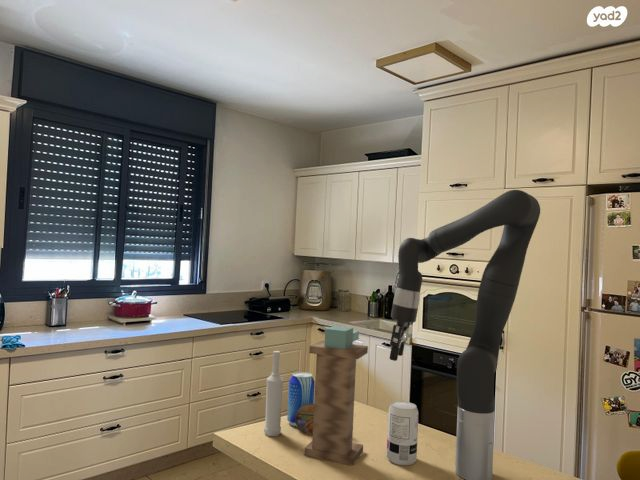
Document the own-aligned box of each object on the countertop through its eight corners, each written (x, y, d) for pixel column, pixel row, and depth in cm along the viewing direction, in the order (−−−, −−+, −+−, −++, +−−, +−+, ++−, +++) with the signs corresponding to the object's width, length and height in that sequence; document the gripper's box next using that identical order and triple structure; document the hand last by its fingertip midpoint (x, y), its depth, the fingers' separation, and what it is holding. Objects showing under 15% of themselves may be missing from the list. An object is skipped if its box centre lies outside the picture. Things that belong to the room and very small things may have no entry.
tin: (294, 431, 146) (295, 404, 146) (295, 427, 149) (297, 401, 149) (342, 435, 144) (343, 408, 144) (342, 432, 147) (343, 405, 148)
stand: (362, 451, 132) (367, 346, 134) (352, 465, 123) (357, 351, 124) (317, 442, 138) (322, 340, 139) (304, 455, 128) (309, 345, 130)
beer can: (283, 420, 155) (286, 371, 156) (306, 418, 158) (309, 370, 159) (292, 429, 147) (295, 378, 148) (316, 426, 151) (319, 376, 151)
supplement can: (381, 455, 131) (383, 401, 131) (406, 452, 134) (408, 399, 134) (395, 468, 123) (398, 410, 124) (422, 464, 126) (424, 408, 127)
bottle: (277, 437, 140) (282, 353, 141) (261, 435, 141) (266, 352, 142) (282, 431, 145) (286, 350, 146) (266, 429, 146) (271, 349, 147)
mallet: (364, 339, 144) (364, 323, 145) (344, 349, 127) (345, 331, 127) (345, 337, 147) (346, 321, 147) (324, 346, 129) (325, 328, 129)
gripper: (414, 309, 131) (404, 365, 131) (421, 305, 145) (412, 356, 145) (388, 303, 134) (378, 358, 134) (398, 300, 147) (389, 350, 147)
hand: (396, 357), depth 139 cm, fingers open, 8 cm apart
